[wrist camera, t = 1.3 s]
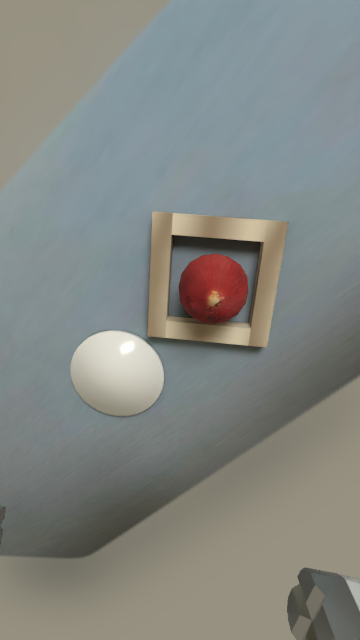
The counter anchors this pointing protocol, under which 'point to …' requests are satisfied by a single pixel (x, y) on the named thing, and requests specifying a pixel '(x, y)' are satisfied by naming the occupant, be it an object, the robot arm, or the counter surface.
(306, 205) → the counter surface
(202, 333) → the frame
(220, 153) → the counter surface
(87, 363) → the white domed disc
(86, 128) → the counter surface
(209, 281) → the onion
